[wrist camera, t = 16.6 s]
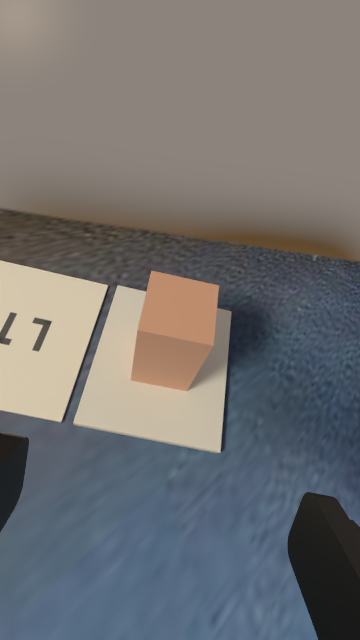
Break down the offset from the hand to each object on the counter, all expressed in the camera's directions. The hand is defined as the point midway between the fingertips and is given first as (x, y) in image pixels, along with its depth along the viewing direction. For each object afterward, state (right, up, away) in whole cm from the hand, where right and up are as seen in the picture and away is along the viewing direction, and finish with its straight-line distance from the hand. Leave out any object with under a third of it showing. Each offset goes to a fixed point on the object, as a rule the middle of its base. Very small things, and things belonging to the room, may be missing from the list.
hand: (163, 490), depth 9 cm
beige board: (-1, +1, +21) cm, 21 cm away
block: (-1, +1, +21) cm, 21 cm away
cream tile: (-14, +4, +20) cm, 25 cm away
